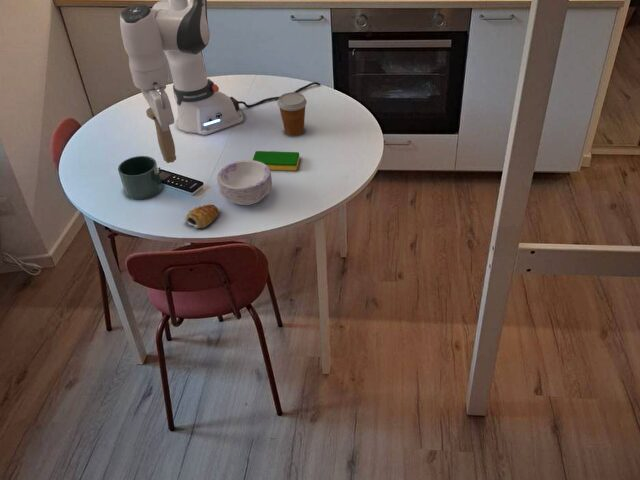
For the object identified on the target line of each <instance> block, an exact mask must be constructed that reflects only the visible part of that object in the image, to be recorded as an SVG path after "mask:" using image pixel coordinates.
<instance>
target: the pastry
mask: <svg viewBox="0 0 640 480" xmlns="http://www.w3.org/2000/svg"><path fill="white" fill-rule="evenodd" d="M218 215H219V208H218V207H217V206H216V205H215V204H203V205H199V206H198V207H194V208H193V209H192V210H189V211H188V213H187V214H186V216H185V218H184V221H185V222H186V223H187V225H189V226H191V227H194V228H196V229H203V228H206V227H207V226H208V225H210V224H212V223H213V222H214V221H215V220H216V218H217V217H218Z"/></svg>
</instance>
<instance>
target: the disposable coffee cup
mask: <svg viewBox="0 0 640 480" xmlns="http://www.w3.org/2000/svg"><path fill="white" fill-rule="evenodd" d="M294 92H295V91H291V92H286V93H283V94H281V95H280V97H279V96H278V97H279V99H277V106H278V107H279V111H280V116H281V120H282V124H283V128H284V133H285V135H288V136H292V137H293V136H294V137H298V136H300V135H302V134H303V133H304V132H305V131H304V130H305V118H306V117H305V116H306V105H307V103H308V102H307V99H306V96H305V95H304V94H302V93H300V92H297V93H294Z"/></svg>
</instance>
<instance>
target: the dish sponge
mask: <svg viewBox="0 0 640 480" xmlns="http://www.w3.org/2000/svg"><path fill="white" fill-rule="evenodd" d="M300 159H301V157H300V152H299V151H296V152H295V151H274V150H273V151H272V150H271V151H270V150H269V151H267V150H265V151H264V150H256V151H255V152H254V155H253V158H252V160H254V161H259V162H262V163H264V164H265V165H267V166H268V167H269V169H270V171H294V172H295V171H296V172H297V171H298V167H299V163H300Z"/></svg>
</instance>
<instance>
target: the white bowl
mask: <svg viewBox="0 0 640 480" xmlns="http://www.w3.org/2000/svg"><path fill="white" fill-rule="evenodd" d="M271 171H272V170H270V169H269V167H268V166H267V165H265V164H264V163H262V162H259V161H254V160H253V159H244V160H237V161H233V162H231V163H229V164H228V163H227V165H225V166H224V167H222V168H221V169H220V170H219V171H218V173H217V177H216V180H217V185H218V191H219V193H220V196H222V198H224V199H225V200H227V201H230V202H232V203H234V204H236V205H239V206H250V205H254V204H257V203H259V202H260V201H262V200H263V199H264V197H265V196H267V195H268V194H269V193H270V192H271V190H272V187H273V181H272V172H271Z"/></svg>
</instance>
